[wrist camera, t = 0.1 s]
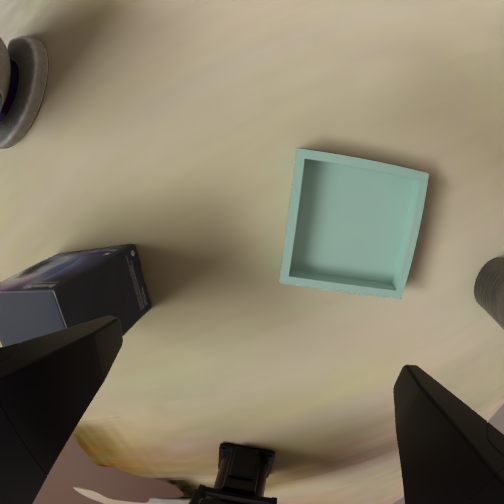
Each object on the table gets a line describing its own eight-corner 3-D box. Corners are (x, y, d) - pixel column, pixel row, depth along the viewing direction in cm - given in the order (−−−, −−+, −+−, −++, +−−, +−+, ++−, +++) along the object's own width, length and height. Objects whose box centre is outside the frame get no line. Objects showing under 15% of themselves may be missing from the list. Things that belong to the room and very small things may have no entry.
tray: (394, 288, 22) (401, 299, 20) (280, 272, 23) (278, 283, 21) (418, 171, 19) (429, 173, 17) (296, 149, 20) (296, 148, 18)
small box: (135, 238, 24) (52, 286, 14) (154, 308, 26) (91, 380, 16) (53, 251, 26) (-23, 290, 16) (72, 309, 28) (8, 361, 18)
